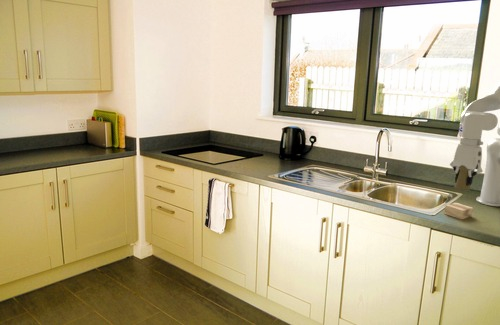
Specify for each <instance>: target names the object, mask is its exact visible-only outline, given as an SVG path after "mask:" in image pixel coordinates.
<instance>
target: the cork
mask: <svg viewBox="0 0 500 325" xmlns="http://www.w3.org/2000/svg"><path fill="white" fill-rule="evenodd" d="M459 170H460V172H459V175H458V178H457V182H456V183H455V185H454V189H456V190H460V191H470V190H471V185H468V186H466V179H467V177H468V176H469V175H468V171H469V170H468V169H467V168H466V166H464V165H461V166H460V167H459Z"/></svg>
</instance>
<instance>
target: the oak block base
mask: <svg viewBox="0 0 500 325" xmlns="http://www.w3.org/2000/svg"><path fill="white" fill-rule="evenodd" d="M473 211H474V208H473V207H472V206H468V205H465V204H462V203H458V202H452V203H448V204H445V207H444V211H443V212H444V213H443V214H445V215H448V216H451V217H453V218H456V219H459V220H464V219H468V218H471V217H472V216H473Z"/></svg>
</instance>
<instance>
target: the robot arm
mask: <svg viewBox="0 0 500 325" xmlns="http://www.w3.org/2000/svg"><path fill="white" fill-rule="evenodd" d="M497 110H498V111H499V110H500V80H499V81H498V82H497V84H496V85H495V86H494V87H493V89H492V90H491V91H490V92H489V94H488V95H485V96H483V97H480V98H478V99H476V100H474V101H472V102H470V103H469V104H468V105H467V106H466V108H465V109H463V112H462V113H461V116H460V118H459V122H460V125H461V126H462V128H461V134H460V135H461V136H460V140H459V143H458V144H457V147H456V150H455V153H454V156H453V157H454V158H453V160H452V161H451V162H450V163H449V166H450V167H451V168H452V169H453V171H454V173H455V176H454V178H455V179H454V180H455V181H454V183H455V184H456V182H457V178H458V175H459V172H460V170H459V167H460V166H461V165H464V166H466V168H467V169H468V170H469V171H468V175H469V176H468V177H467V179H466V186H468V185H470V186H471V185H472V184H473V181H474V180H473V179H474V177H475V176H477V175H478V174H480V173H483V169H482V160H483V159H482V157H483V150H482V148H483V147H481V146H483V145H484V142H483V141H482V134H483V131H493V130H494V129H495V128H496V127H497V131H496V132H497V134H498V136H500V122H498V121H499V119H498V117H497V115H495V114H494V113H492V112H493V111H497ZM498 123H499V124H498ZM483 175H484V176H483V180H482V185H481V190H480V196H477V197H476V200H475V201H476V202H478V203H479V204H482V205H485V206H491V207H500V138H497V137H496V138H492V139H490V140H489V141H488V142H487V145H486V163H485V168H484V173H483Z"/></svg>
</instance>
